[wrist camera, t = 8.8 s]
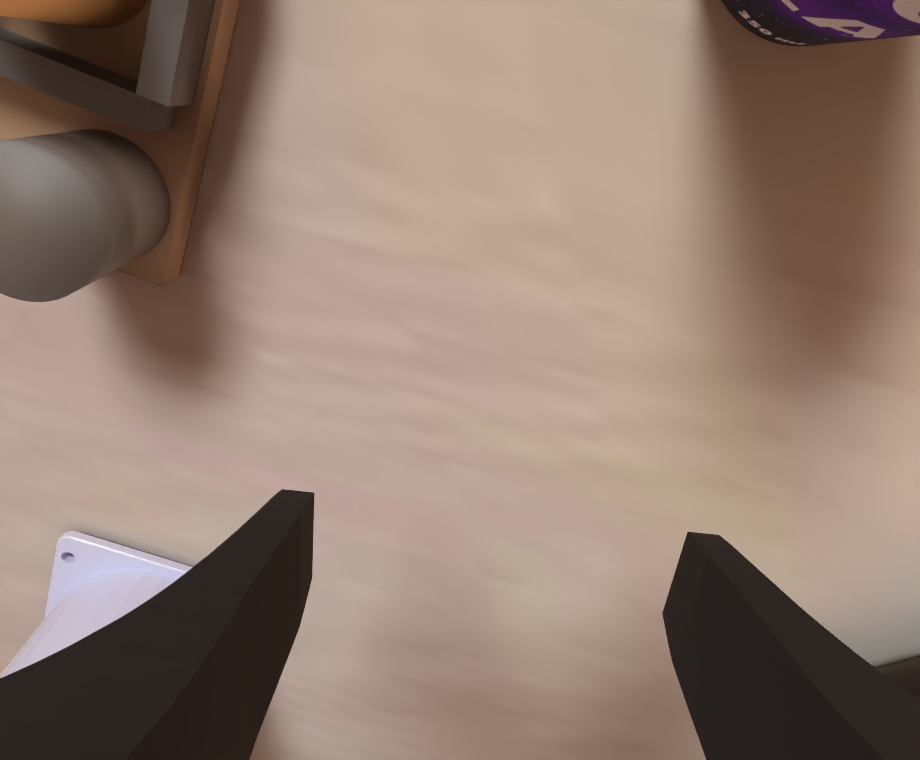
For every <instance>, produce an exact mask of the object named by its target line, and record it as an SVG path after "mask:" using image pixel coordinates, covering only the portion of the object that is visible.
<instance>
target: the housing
mask: <svg viewBox="0 0 920 760" xmlns="http://www.w3.org/2000/svg"><path fill="white" fill-rule="evenodd" d="M239 3H240V0H148V1H147V2H146V4H145V5H144V7H143V8H142V9H141V10H140V11H139V12H138V13H137V14H136V15H135V16H134V17H133V18H131V19H130V20H129V21H127V22H125V23H123V24H121V25H118V26H114V27H110V28H88V27H80V26H73V25H65V24H58V23H50V22H43V21H35V20H28V19H20V18H13V17H5V16H0V293H1V294H4V295H6V296H9V297H12V298H15V299H19V300H24V301H31V302H45V301H52V300H57V299H60V298H63V297H65V296H67V295H69V294H71V293H73V292H75V291H77V290H79V289H81V288H82V287H84V286H86V285H88V284H90V283H92V282H94V281H96V280H97V279H99V278H101V277H103V276H105V275H107V274H109V273H111V272H112V271H114V270H118V271H121V272H124V273H127V274H129V275H132V276H135V277H138V278H140V279H143V280H146V281H149V282H151V283H154V284H157V285H160V286H162V287H163V286H165V285H166V284H168V283H169V282H171V281H172V280H174V279H175V278H177V277H178V276H179V274H180V270H181V265H182V261H183V256H184V252H185V247H186V243H187V238H188V234H189V229H190V225H191V220H192V216H193V211H194V207H195V202H196V198H197V193H198V189H199V184H200V180H201V175H202V171H203V166H204V162H205V157H206V152H207V148H208V143H209V139H210V134H211V130H212V125H213V121H214V116H215V112H216V107H217V103H218V98H219V94H220V89H221V85H222V80H223V76H224V71H225V67H226V62H227V58H228V53H229V49H230V44H231V40H232V35H233V31H234V26H235V21H236V17H237V12H238V8H239Z"/></svg>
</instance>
